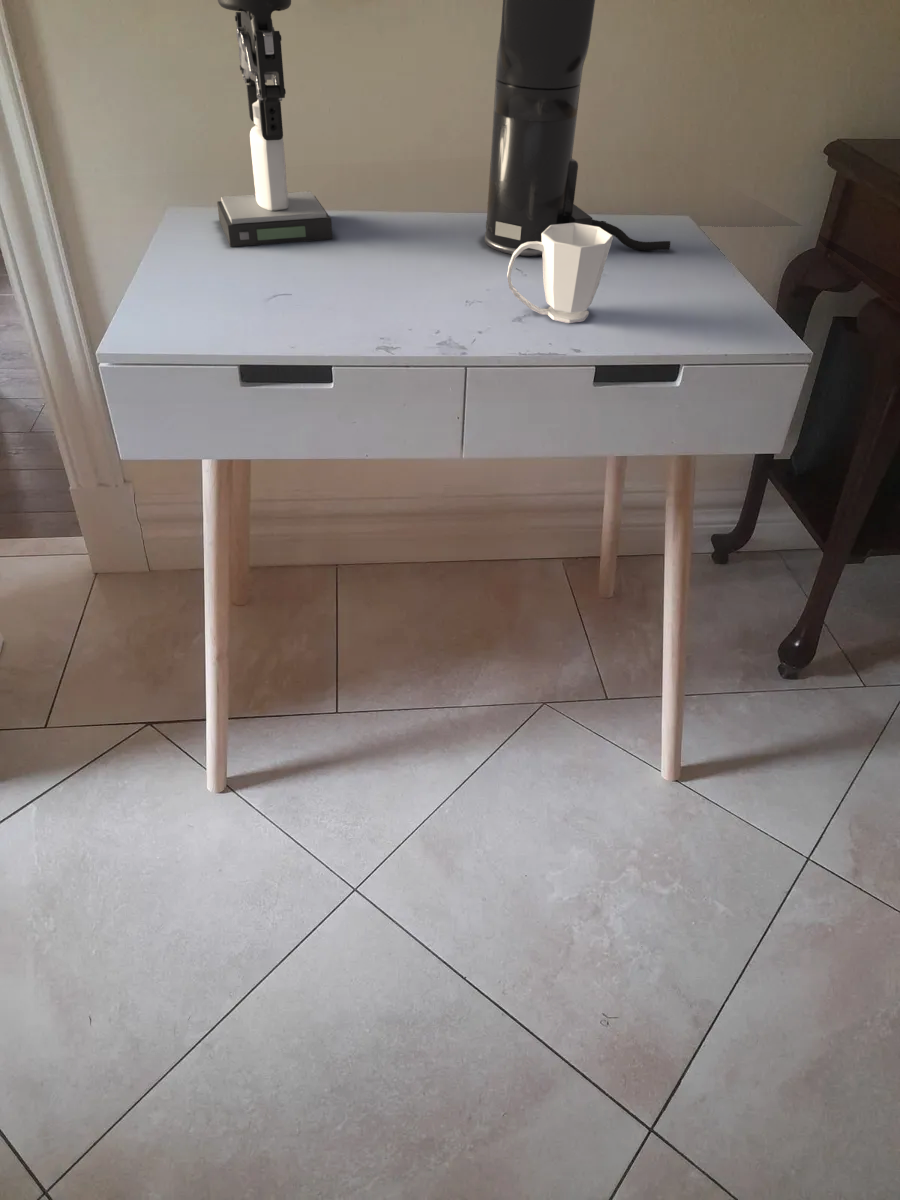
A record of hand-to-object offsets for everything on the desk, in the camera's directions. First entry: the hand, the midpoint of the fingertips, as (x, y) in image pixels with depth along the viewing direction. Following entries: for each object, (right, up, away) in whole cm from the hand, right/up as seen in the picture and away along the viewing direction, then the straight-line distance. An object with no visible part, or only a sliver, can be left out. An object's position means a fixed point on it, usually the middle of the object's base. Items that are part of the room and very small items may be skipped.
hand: (266, 129), depth 100 cm
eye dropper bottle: (0, -6, +5) cm, 8 cm away
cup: (+31, -24, -9) cm, 40 cm away
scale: (0, -8, +7) cm, 11 cm away
